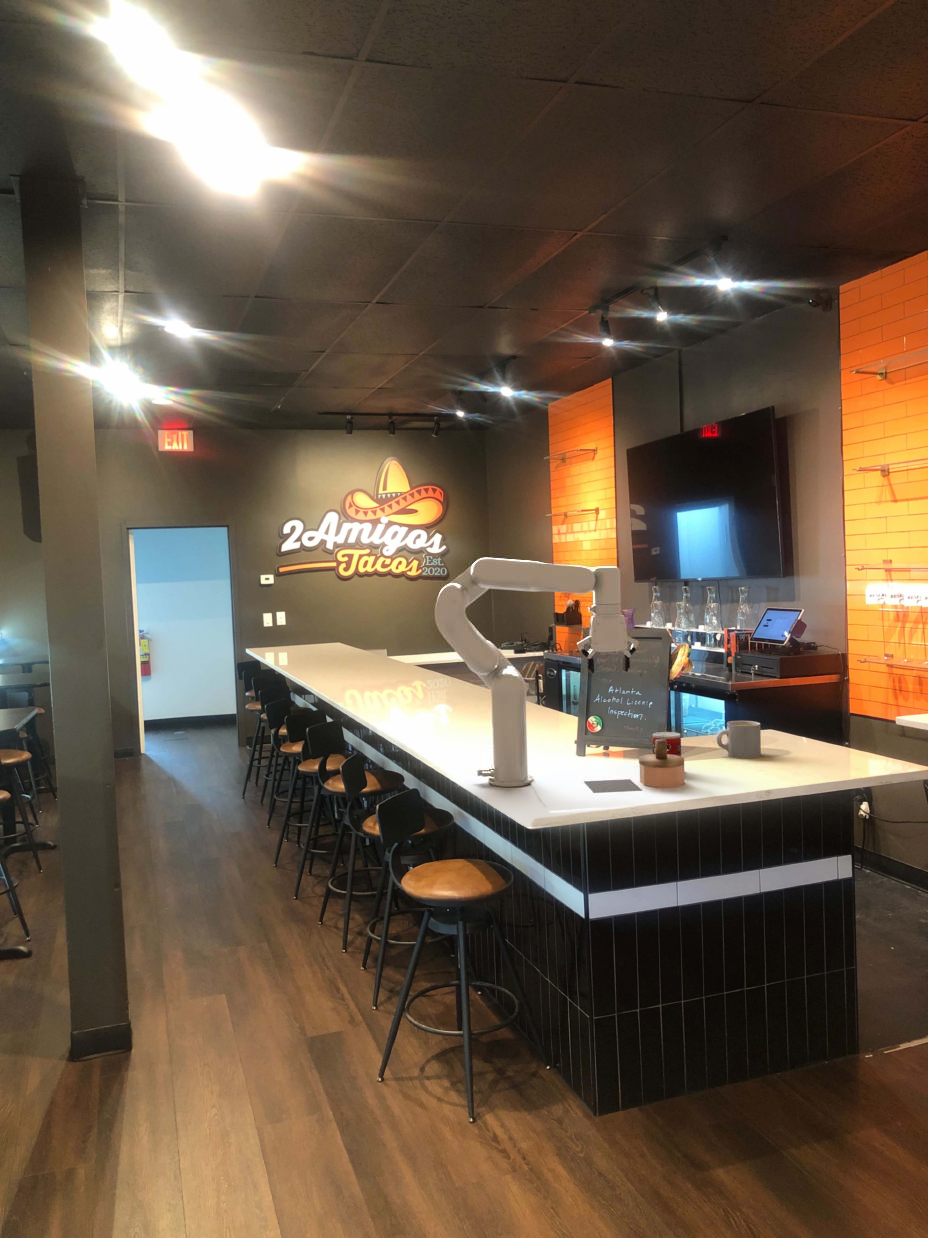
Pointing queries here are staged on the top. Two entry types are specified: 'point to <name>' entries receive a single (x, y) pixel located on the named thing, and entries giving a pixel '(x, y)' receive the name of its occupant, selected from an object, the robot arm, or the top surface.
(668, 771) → the bowl
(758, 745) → the coffee mug
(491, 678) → the robot arm
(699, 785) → the top surface
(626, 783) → the mat
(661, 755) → the lid
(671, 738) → the canned food
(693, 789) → the top surface
